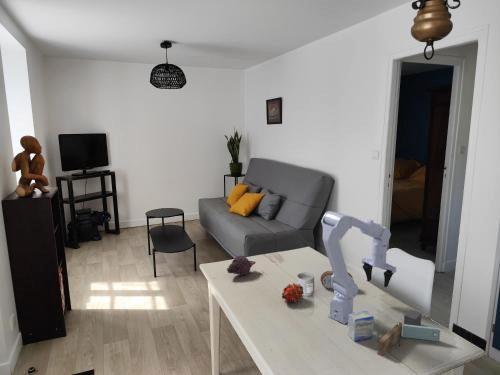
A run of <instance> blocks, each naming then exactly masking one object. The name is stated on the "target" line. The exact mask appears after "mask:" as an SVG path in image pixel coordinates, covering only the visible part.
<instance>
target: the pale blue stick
mask: <svg viewBox="0 0 500 375" xmlns="http://www.w3.org/2000/svg"><path fill="white" fill-rule="evenodd" d="M440 337H441V328H439V327H432V326H431V327H429V326H422V325H420V326H415V325H406V324H404V323H402V338H407V339H416V340H417V339H418V340H425V341H433V342H440V339H441V338H440Z"/></svg>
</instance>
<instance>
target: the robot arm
mask: <svg viewBox="0 0 500 375" xmlns="http://www.w3.org/2000/svg"><path fill="white" fill-rule="evenodd" d="M320 222H321V225H322V241H323V245H324V248H325V252H326V255H327V258H328V260H329V264H330V267H331V271H333V275H332V276H331V286H332V288H333V289H332V290H333V293H334V296H333V299H332V300H330V303H329V314H327V317H328V318H331V319H333V320H335V321H337V322H339V323H342V324H348V314H353V313H355V312H354V299H355V298H356V296H357V295H358V291H359V286H358V284H357V283H355V280H354V278H353V276H352V277H351V276H350V275H349V274H348V273H349V271H348V269H347V265H346V263H345V259H344V256H343V253H342V252H343V251H342V249H341V246H340V242H339V241H340V240H342V239H343V238H344V236H346V234H347V232H348V231H349V229H352V228H353V227H354V228H357V229H359V231H360V233H362V234H364V235H367V236H369V237H371V238H372V244H371V245H372V246H371V258H366V257H363V258H362V259H361V264H363V265H362V269H363V271H364V272H365V276H366V281H367V282H370V281H371V280H372V274H373V269H374V268H378V269H381V270H385V271H383V277H384V280H383V281H384V282H383V287H384V288H387V287H388V286H389V283H390V281H391V279H392V277H393V276H394V274H395V273H397V267H395V266H393V265H391V264H389V263H387V247H388V244H389V241H390V238H391V235H392V233H391V231H390V230H389V228H388V227H386V226H383V225H381V223H378V222H377V223H376V222H374V220H373V219H365V220H361V219H358V218H356V217H354V216H352V215H349V214H345V213H341V212H337V211H336V212H334V211H332V210H327V211H326V212H325V213H324V215H323V216H322V219H321V221H320ZM373 267H374V268H373ZM352 278H353V279H352Z"/></svg>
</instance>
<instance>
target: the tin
mask: <svg viewBox="0 0 500 375" xmlns="http://www.w3.org/2000/svg"><path fill="white" fill-rule="evenodd" d="M348 274H349V275H350V276H351V277H352V279H353V280H354V277H353V276H352V274H351V273H350V272H348ZM332 275H333V271H332V270H327V271H324V272H322V274H321V275H320V283H321V285H322V286H323V288H325V289H329V290H334V289H333V288H332V286H331V276H332Z"/></svg>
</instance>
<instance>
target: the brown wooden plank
mask: <svg viewBox="0 0 500 375" xmlns="http://www.w3.org/2000/svg"><path fill="white" fill-rule="evenodd" d="M401 338H403V322H400V321H398V322H397V324H395V325H394V326H393V327H392V328H391V329H390V330H389V331H388V332H387V333H386V334H384V335H383V336H382V337H381V338H380V339H379V340H378V342H377V344H378V345H377V355H379V356H381V357H383V356H384V354H386V353H387V352H388V351H389V350H390V349H391V348H392V347H393V346H394V345H395V344H397V342H398V341H399V340H400V339H401Z"/></svg>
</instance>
